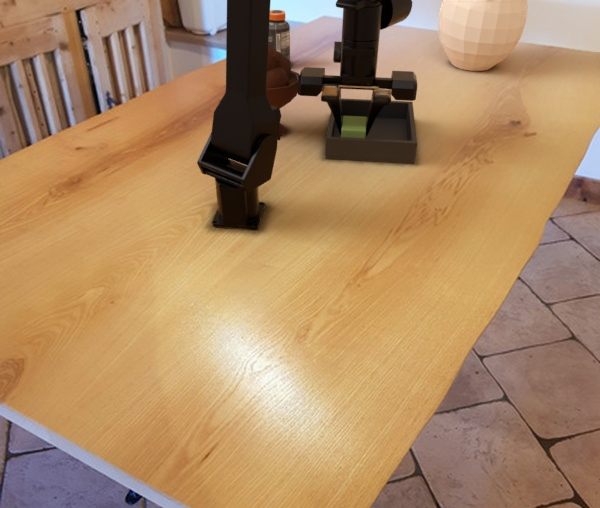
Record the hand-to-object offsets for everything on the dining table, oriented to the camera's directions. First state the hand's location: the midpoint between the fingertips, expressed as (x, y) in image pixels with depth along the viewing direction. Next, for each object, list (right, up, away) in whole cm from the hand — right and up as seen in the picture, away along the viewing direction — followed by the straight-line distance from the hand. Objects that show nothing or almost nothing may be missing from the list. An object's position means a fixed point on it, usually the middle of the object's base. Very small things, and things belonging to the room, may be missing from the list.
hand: (353, 134), depth 94 cm
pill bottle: (-14, +26, +33) cm, 44 cm away
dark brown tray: (+3, 0, +3) cm, 5 cm away
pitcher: (+31, +26, +34) cm, 53 cm away
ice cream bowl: (-14, +2, +6) cm, 16 cm away
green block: (0, -1, +1) cm, 1 cm away
